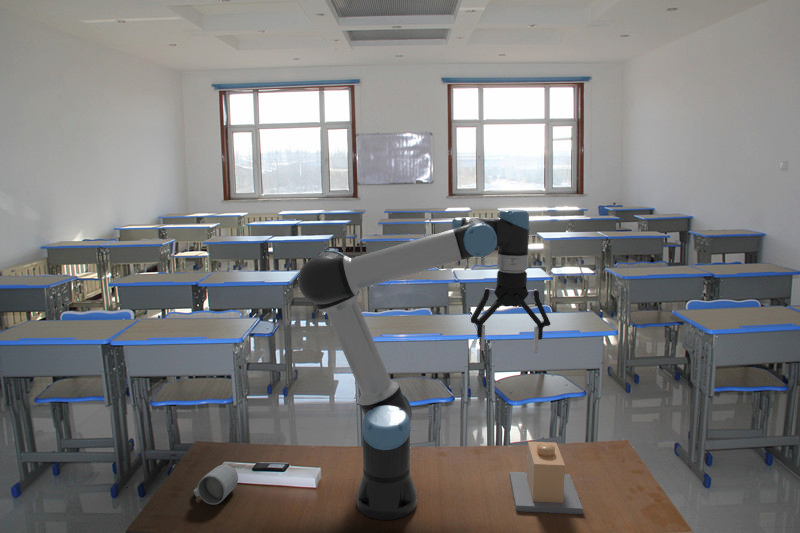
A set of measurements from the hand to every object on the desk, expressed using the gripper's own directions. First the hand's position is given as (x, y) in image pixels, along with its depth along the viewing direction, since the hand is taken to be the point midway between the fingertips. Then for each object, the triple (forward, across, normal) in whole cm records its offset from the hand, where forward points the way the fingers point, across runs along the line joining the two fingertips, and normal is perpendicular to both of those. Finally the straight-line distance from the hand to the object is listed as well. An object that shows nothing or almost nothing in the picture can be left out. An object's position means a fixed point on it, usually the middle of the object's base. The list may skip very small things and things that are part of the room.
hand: (508, 350), depth 151 cm
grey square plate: (+36, +10, -8) cm, 38 cm away
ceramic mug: (+37, -74, -17) cm, 85 cm away
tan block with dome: (+34, +10, -8) cm, 36 cm away
